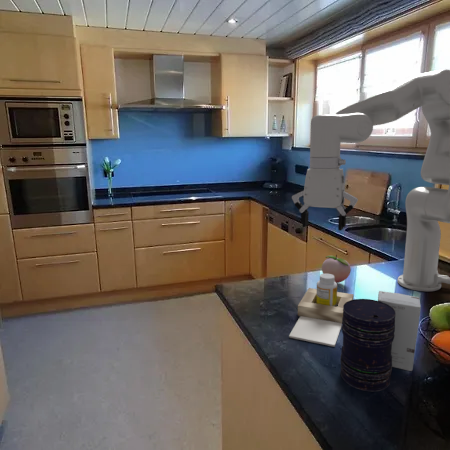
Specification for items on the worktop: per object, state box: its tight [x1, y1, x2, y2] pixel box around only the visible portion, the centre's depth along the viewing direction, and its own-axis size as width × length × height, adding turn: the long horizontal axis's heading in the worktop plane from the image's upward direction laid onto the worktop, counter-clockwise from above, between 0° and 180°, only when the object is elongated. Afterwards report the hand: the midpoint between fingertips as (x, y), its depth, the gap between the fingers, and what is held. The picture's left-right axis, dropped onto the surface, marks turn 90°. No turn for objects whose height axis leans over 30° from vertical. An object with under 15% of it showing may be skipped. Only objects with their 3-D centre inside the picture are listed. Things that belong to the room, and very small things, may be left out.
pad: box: [288, 316, 342, 348], centre depth 94 cm, size 11×11×1 cm
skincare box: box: [377, 290, 422, 372], centre depth 80 cm, size 8×6×15 cm
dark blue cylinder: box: [340, 298, 396, 392], centre depth 75 cm, size 10×10×15 cm
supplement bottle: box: [316, 273, 338, 307], centre depth 104 cm, size 6×6×10 cm
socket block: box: [297, 287, 355, 323], centre depth 105 cm, size 13×13×3 cm
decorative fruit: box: [321, 254, 352, 284], centre depth 122 cm, size 9×8×10 cm
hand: (322, 227), depth 101 cm, fingers open, 9 cm apart
